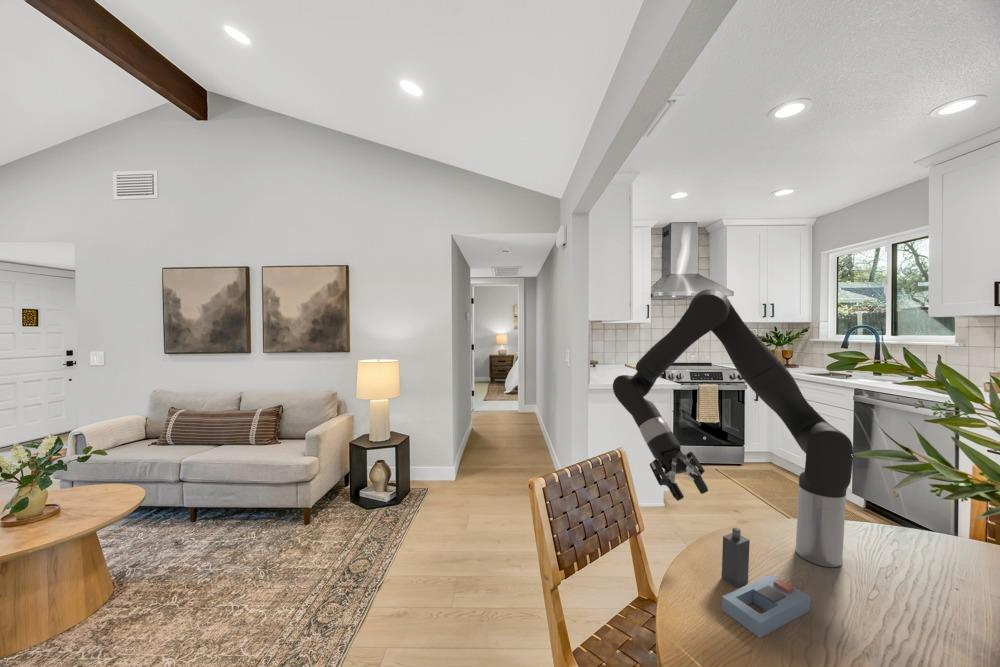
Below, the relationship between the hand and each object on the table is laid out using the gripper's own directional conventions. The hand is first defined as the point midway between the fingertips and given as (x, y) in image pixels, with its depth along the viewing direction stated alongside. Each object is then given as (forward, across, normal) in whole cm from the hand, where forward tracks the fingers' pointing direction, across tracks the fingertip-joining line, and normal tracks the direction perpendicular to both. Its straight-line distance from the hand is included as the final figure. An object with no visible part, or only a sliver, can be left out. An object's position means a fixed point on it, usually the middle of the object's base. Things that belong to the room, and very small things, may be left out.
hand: (693, 495), depth 105 cm
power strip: (+25, -3, -4) cm, 26 cm away
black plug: (+19, 0, +2) cm, 19 cm away
